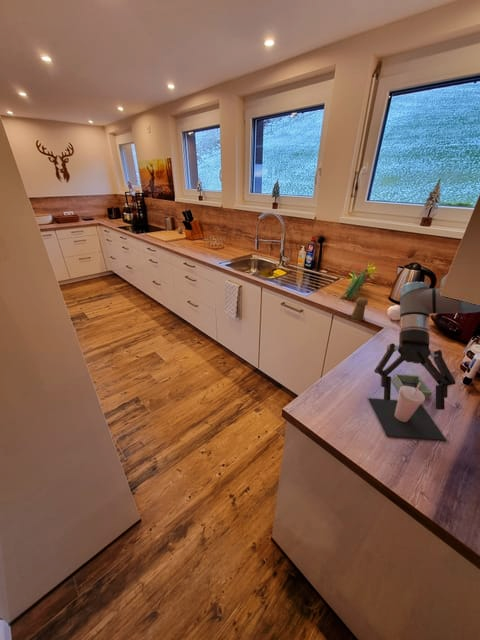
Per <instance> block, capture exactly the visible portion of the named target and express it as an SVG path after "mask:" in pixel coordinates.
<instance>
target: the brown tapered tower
mask: <svg viewBox="0 0 480 640" xmlns="http://www.w3.org/2000/svg"><path fill="white" fill-rule="evenodd" d="M367 305H368V299H367V298H365V297H362V296H361V297H357V298H356V300H355V307H354V308H353V311H352V312H351V315H350V317H351V319H352V320H354V321H358V322H361V321H363V320H364V319H365V318H364V317H365V309H366V306H367Z"/></svg>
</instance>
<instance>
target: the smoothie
mask: <svg viewBox="0 0 480 640" xmlns="http://www.w3.org/2000/svg"><path fill="white" fill-rule="evenodd" d="M420 385H421V383H420V382H419V383H418V386H417V385H416V387H413V386H409V385H404V386H402V387H401V388H400V390H398V398H397V400H398V402H397V406H396V410H395V417H396V418H397V419H398V420H399V421H402V422H407V421H408V420H409V419H410V417H411V416H412V415H413V413H414V412H415V411H416V410H417V408H418V407H419V406H420V404H421V405H422V404H424V403H425V401H426V399H425V396H424V394H423V393H422V392H421V390H420V389H419V387H420Z"/></svg>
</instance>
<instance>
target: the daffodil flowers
mask: <svg viewBox="0 0 480 640" xmlns="http://www.w3.org/2000/svg"><path fill="white" fill-rule="evenodd" d="M374 264H375V261H373V262H372V263H371V264H369V263H368V264H367V268H366V269H365V270H363V271H362V272H361V273H360V274H359V275H357V271H356V269H355V268H353V270H352V273H353V274H352V273H351V272H348V274H349V275H350V276H351V278H348V279H347V280H346V281H347V282H350V284H349V285H348V287H347V288H346V290H345V291H344V294H343V295H342V296H341V299H343V298H344V299H345V300H348V301H350V300H351V299H352V297H353V299H352V302H353V301H354V300H355V299H356V298H357V296H358V294H359V292H360V291H361V289H362V287H364V286H365V287H366V286H367V284H366V283H369V282H370V280H367V281H365V280H366V279H367V278H368V277H370V278H371V280H375V277H374V275H373V274H376V273H377V270H376V269H377V268H376V266H374ZM366 273H368V274H366ZM354 295H355V296H354Z"/></svg>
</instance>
